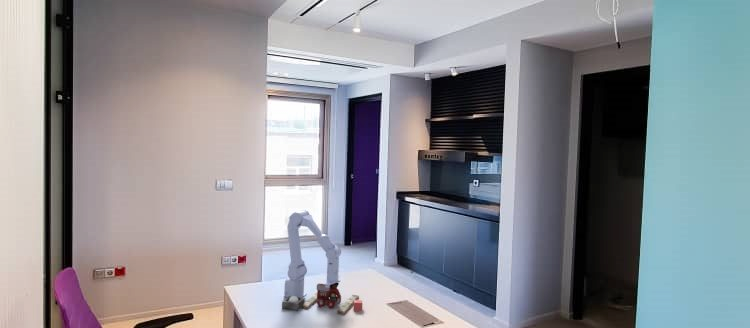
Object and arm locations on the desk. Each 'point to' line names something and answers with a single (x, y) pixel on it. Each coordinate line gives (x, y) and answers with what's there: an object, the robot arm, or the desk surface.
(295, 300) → the dome button
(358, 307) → the red die
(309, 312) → the desk surface
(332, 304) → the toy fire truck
